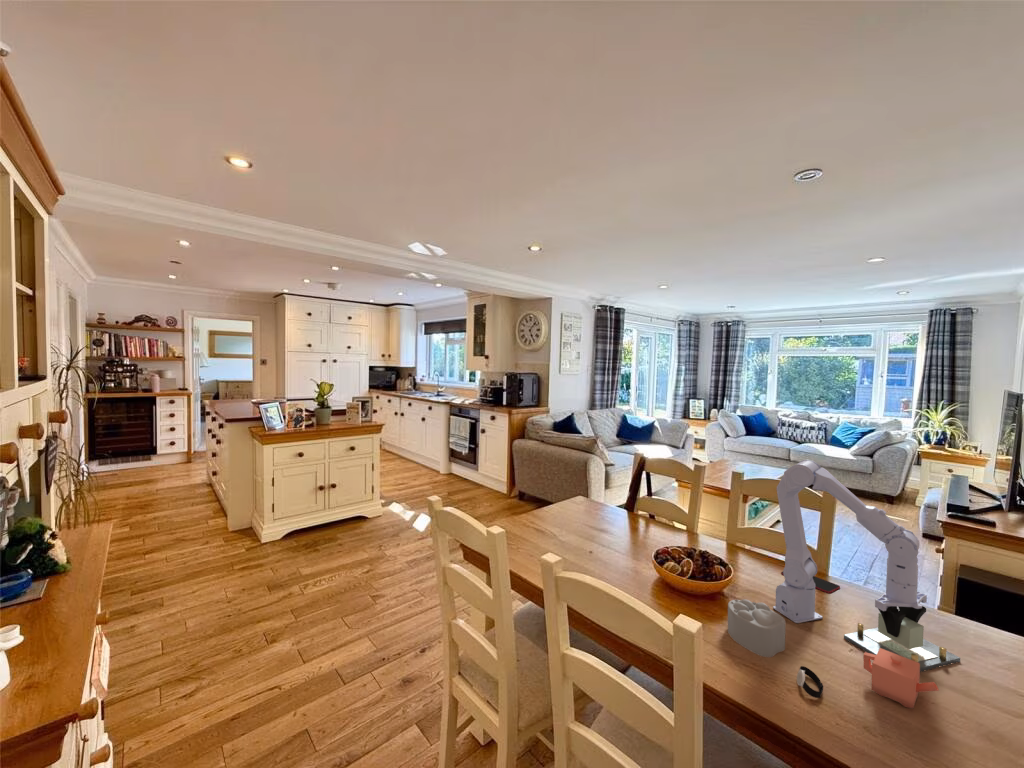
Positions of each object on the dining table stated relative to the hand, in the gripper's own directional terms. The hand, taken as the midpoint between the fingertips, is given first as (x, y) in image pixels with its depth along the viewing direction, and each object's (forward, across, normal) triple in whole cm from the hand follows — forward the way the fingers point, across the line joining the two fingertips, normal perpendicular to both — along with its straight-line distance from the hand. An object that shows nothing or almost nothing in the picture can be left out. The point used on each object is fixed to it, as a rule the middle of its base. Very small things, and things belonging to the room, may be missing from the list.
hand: (900, 633), depth 106 cm
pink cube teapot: (+5, -17, -11) cm, 21 cm away
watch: (+5, -33, -4) cm, 34 cm away
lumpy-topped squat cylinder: (+4, -32, +13) cm, 35 cm away
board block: (+1, 0, 0) cm, 1 cm away
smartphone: (+5, +10, +33) cm, 35 cm away
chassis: (+4, 0, 0) cm, 4 cm away
